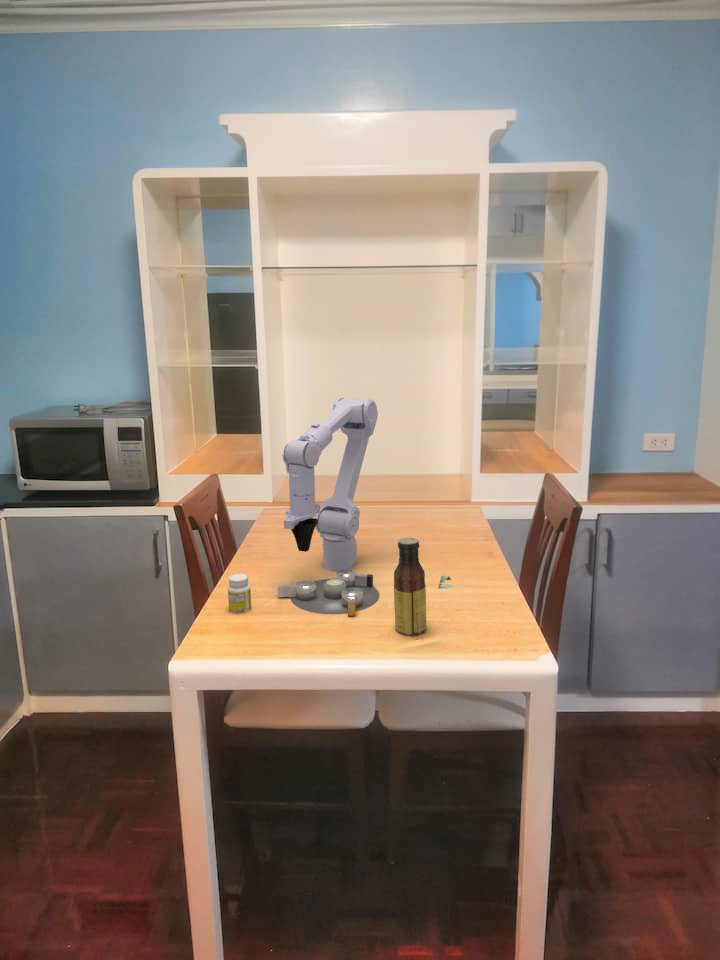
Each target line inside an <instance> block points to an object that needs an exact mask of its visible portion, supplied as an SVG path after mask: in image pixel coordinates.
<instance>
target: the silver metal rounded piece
mask: <svg viewBox="0 0 720 960" xmlns="http://www.w3.org/2000/svg"><path fill="white" fill-rule="evenodd" d="M313 581H314V580H299V581H297V582H296V583H295V584H284V583H278V584H277V598H290V597H296V598H297V599H299V600H311V599H314V598H315V597H316V583H315V582H313Z"/></svg>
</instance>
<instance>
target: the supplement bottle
mask: <svg viewBox="0 0 720 960" xmlns="http://www.w3.org/2000/svg"><path fill="white" fill-rule="evenodd" d="M251 592H252V591H251V585H250V583H249V577H248V575H247V574H245V573H236V574H232V575H230V576H229V577H228V587H227V597H228V610H229V612H230V613H233V614H245V613H248V612H250V610H252V595H251Z"/></svg>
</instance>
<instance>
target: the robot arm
mask: <svg viewBox="0 0 720 960" xmlns="http://www.w3.org/2000/svg"><path fill="white" fill-rule="evenodd" d="M378 414H379V412H378V407H377V403H376V402H375V400H374V399H371V398H369V399H364V398H363V399H360V398H359V399H358V398H344V397H339V398H338V399H337V400H336V401H335V402H333V406H332V411H331V412H330V413H329V415H328V416H327V417H325V419H324V420H323V421H322V422H313V423H312V424H311V425H310V426H311V427H309V428H308V429H307V430H306V431H305V432H304V433H302V435H300V436H299V438H297V440H295V439H292V440H290V441H288V442H287V443H286V444H285V445H284V449H283V452H282V461H283V462H284V464H285V469H286V472H287V474H288V484H289V485H288V488H289V489H288V490H289V509H287V510H286V511H285V515H287V516H286V518H284V519H283V529H286V530H291V533H292V534H293V536H294V539H295V542H296V543H295V544H296V546H297V549H298V551H299V552H305V553H307V552H308V551H310V547H311V542H312V537H313V534H314V531H315V530H316V531H317V533H319V537H320V538H322V557H323V558H322V560H323V569H324V570H326V571H329V572H336V573H337V571H339V570H343V569H350V570H352V567H353V565H354V564H355V563H357V560H358V559H357V558H358V557H357V556H358V555H357V554H358V553H357V551H358V549H357V548H358V547H357V546H358V545H357V544H358V543H357V539H356V537H355V536H356V535H357V533H358V531H359V527H360V514H361V511H360V509H359V508H358V506H357V505H356V504H355V503H354V498H355V494H356V490H357V487H358V486H357V485H358V482H359V479H360V475H361V470H362V466H363V463H364V459H365V456H366V451H367V448H368V447H367V446H368V444H369V439H370V437H371V436H373V434H374V431H375V428H376V425H377V420H378V416H379V415H378ZM338 430H340V431H341V433H343V434H344V435H345V436H347V440H346V441H347V442H346V445H345V448H344V452H343V456H342V459H341V463H340V468H339V469H338V471H339V472H338V475H337V478H336V481H335V486H334V489H333V493H332V496H331V497H329V498H327V499H326V500H324V501H322V503H321V504H318V503H316V487H315V486H316V485H315V484H316V483H315V482H316V481H315V479H316V478H315V466H317V464H318V463H319V460H320V457H321V455H322V453H323V452H322V451H324V450H325V448H327V446H329V445H330V444H331V443H332V442H333V434H334V433H336V432H337V431H338Z"/></svg>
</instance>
